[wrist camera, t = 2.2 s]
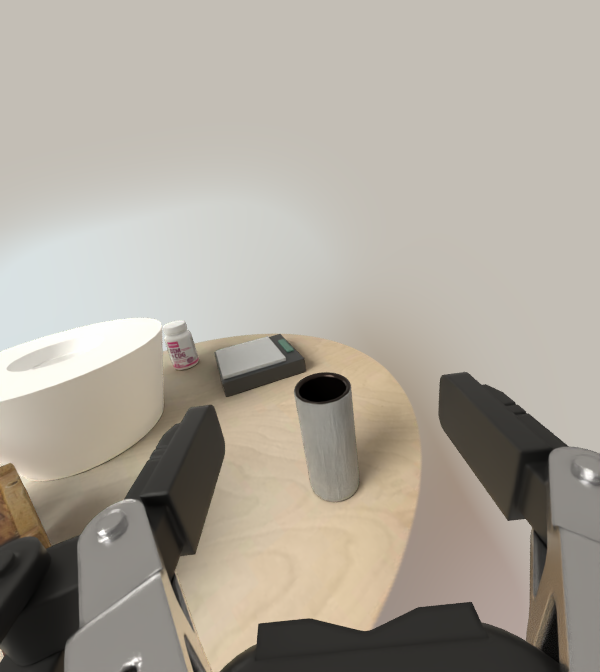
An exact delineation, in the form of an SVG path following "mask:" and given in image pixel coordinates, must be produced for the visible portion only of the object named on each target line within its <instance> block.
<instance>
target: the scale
mask: <svg viewBox="0 0 600 672" xmlns="http://www.w3.org/2000/svg"><path fill="white" fill-rule="evenodd" d="M214 354H215V357H216V361H217V365H218V369H219V373H220V377H221V381H222V385H223V388H224V392H225V395H226V397H228V396H231V395H234V394H237V393H241V392H244V391H247V390H250V389H253V388H256V387H259V386H262V385H265V384H268V383H272V382H275V381H278V380H281V379H284V378H287V377H290V376H293V375H296V374H300V373H303V372H306V367H305V361H304V358H303V357H302V356H301V355H300V354H299V353H298V352H297V351H296V350H295V349H294V348H293V347H292V346H291V345H290V344H289V343H288V342H287V340H286V339H285V338H284V337H283V336H282V335H281V334H278V335H275V336H271V337H268V336H267V337H263V338H260V339H256V340H252V341H249V342H245V343H241V344H238V345H234V346H230V347H227V348H223V349H219V350H216V352H214Z"/></svg>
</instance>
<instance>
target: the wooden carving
mask: <svg viewBox="0 0 600 672" xmlns="http://www.w3.org/2000/svg"><path fill="white" fill-rule="evenodd" d="M28 536H32V537H36V538H38V539H39V541H40V542H41V543H42V545H43V546H44V547H45V549H46V548H49V547H51V544H50V542H49V540H48V537H47V535H46V533H45V530H44V528H43V526H42V524H41V522H40V519H39V517H38V515H37V513H36V510H35V508H34V506H33V504H32V502H31V499H30V497H29V495H28V493H27V491H26V489H25V487H24V485H23V483H22V481H21V479H20V477H19V474H18V472H17V470H16V468H15V466H14V465H13V464H12V463H9V464H6V465H4V466H1V467H0V547H2V546H4V545H5V544H7V543H9V542H12V541H14V540H16V539H19V538H23V537H28ZM2 652H3V651H2ZM3 655H4V656H5V653H4V652H3Z"/></svg>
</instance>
